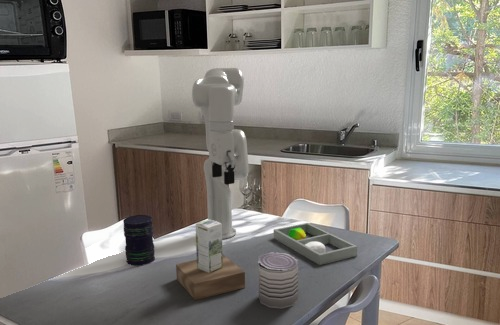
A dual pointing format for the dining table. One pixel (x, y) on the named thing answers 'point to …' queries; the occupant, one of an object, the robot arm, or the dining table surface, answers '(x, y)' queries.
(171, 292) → the dining table surface
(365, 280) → the dining table surface
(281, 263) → the can
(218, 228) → the syrup box
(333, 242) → the fruit tray
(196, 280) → the base block
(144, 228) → the storage jar
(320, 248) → the garlic
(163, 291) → the dining table surface
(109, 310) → the dining table surface
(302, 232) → the apple
